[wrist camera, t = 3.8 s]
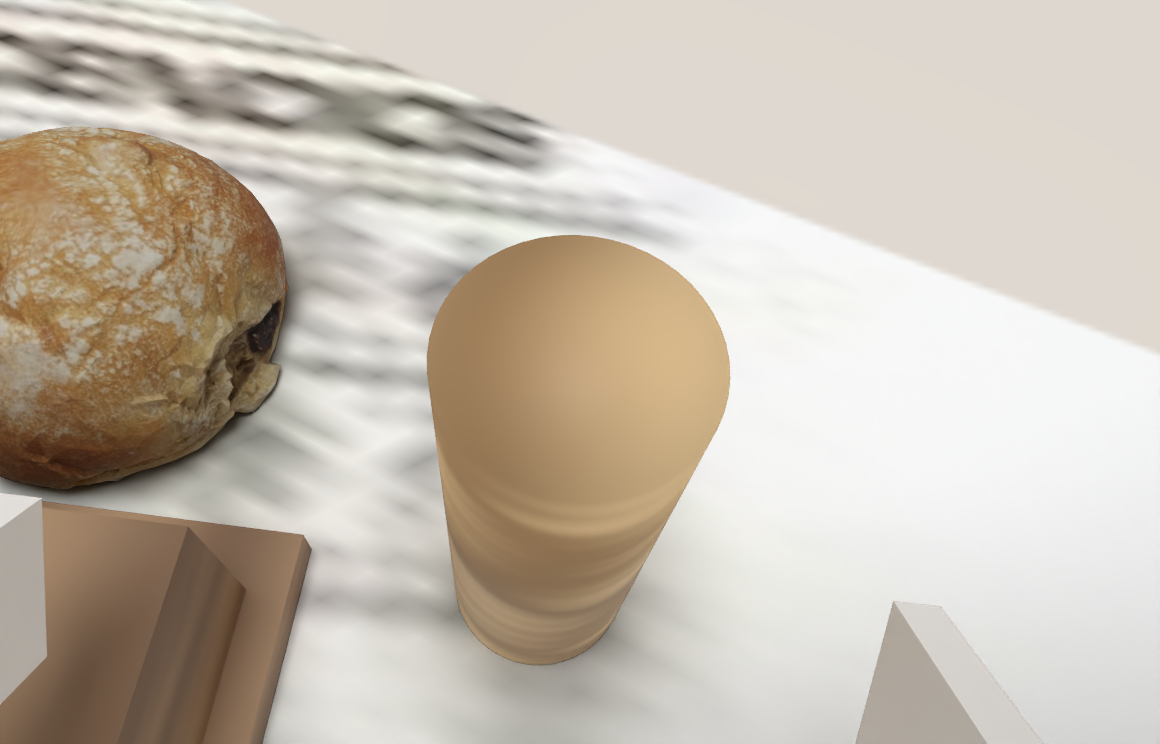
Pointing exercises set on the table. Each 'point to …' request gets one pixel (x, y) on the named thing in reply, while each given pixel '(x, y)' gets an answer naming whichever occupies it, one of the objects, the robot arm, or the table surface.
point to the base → (157, 630)
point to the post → (566, 432)
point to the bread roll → (127, 304)
